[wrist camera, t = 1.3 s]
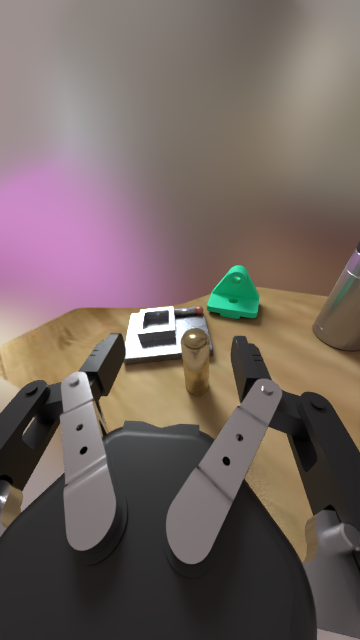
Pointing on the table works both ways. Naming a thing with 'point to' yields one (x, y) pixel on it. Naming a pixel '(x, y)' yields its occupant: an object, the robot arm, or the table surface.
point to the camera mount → (235, 295)
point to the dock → (161, 333)
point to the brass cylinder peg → (196, 360)
